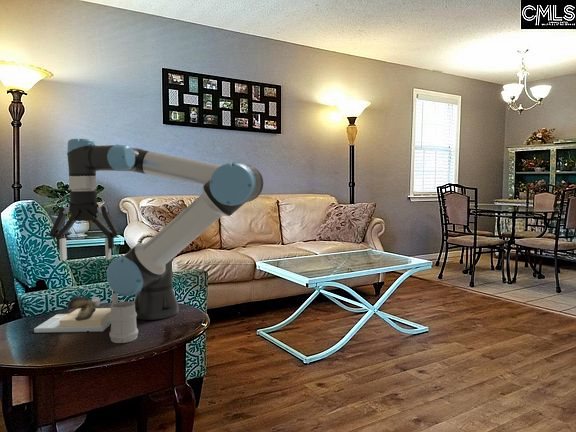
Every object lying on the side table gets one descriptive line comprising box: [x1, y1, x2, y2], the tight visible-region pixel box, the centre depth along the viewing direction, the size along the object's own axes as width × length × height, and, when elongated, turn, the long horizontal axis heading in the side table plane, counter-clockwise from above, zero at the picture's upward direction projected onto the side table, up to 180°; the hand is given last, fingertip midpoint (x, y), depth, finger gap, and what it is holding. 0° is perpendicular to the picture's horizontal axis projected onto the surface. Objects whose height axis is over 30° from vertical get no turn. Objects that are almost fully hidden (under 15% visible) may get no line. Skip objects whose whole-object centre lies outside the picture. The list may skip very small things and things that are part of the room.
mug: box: [108, 292, 139, 344], centre depth 125 cm, size 8×12×12 cm, turn 44°
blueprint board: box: [33, 307, 111, 334], centre depth 136 cm, size 20×14×3 cm
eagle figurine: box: [66, 295, 101, 321], centre depth 134 cm, size 8×7×9 cm
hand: (86, 259), depth 135 cm, fingers open, 13 cm apart
